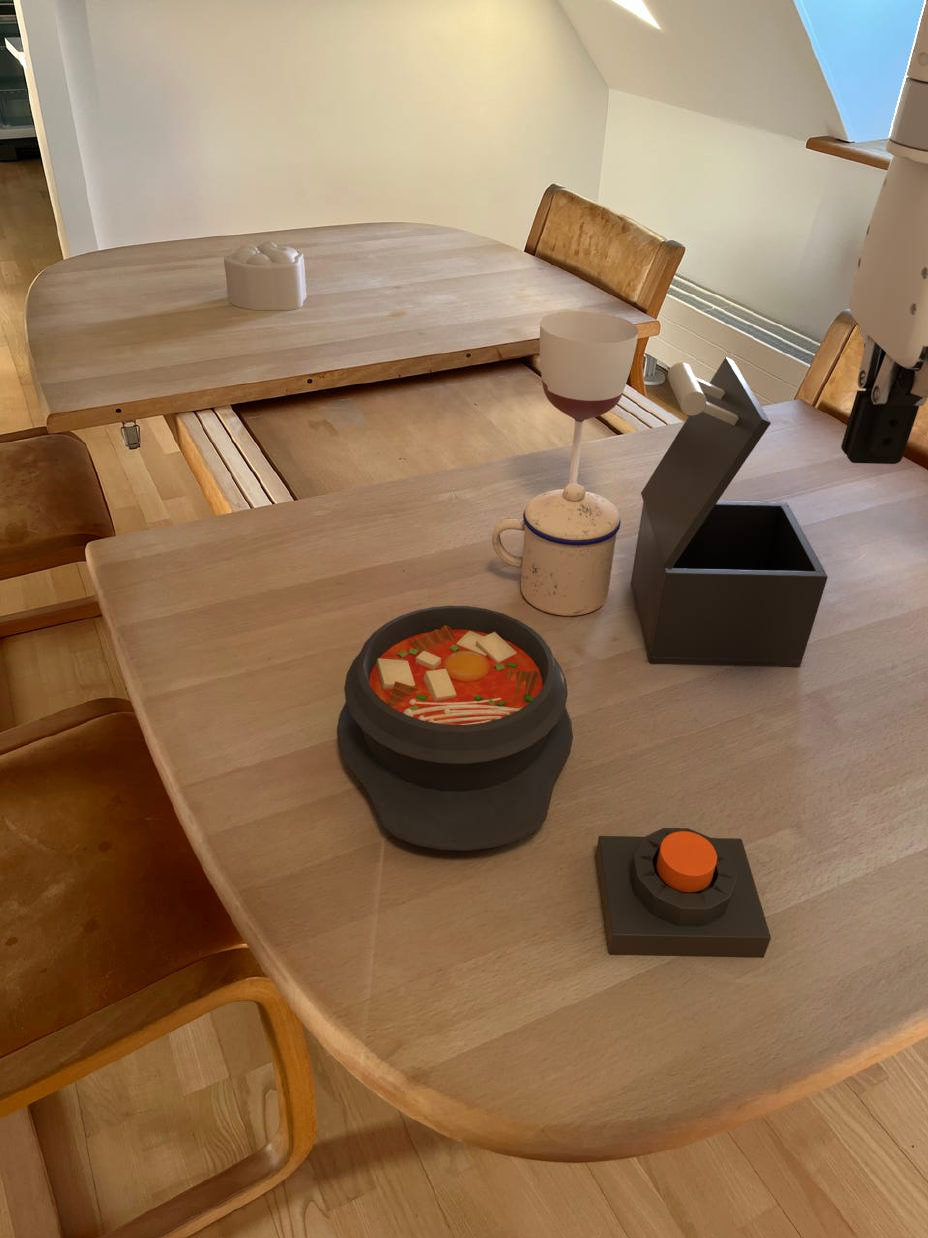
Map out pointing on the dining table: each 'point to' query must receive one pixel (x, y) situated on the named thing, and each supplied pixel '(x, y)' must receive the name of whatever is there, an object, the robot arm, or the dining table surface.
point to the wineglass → (585, 366)
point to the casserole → (456, 727)
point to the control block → (678, 902)
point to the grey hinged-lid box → (730, 590)
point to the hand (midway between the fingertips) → (869, 456)
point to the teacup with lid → (564, 550)
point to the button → (686, 861)
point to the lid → (701, 454)
